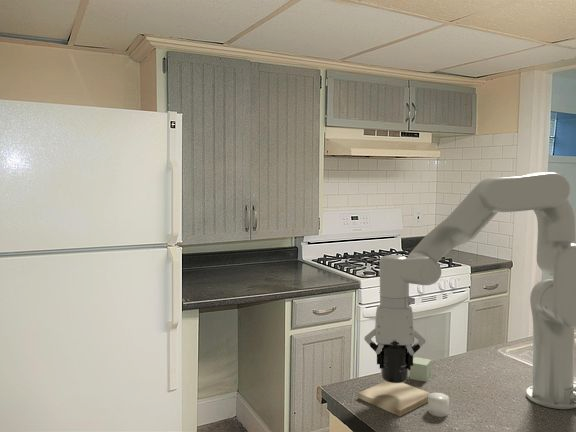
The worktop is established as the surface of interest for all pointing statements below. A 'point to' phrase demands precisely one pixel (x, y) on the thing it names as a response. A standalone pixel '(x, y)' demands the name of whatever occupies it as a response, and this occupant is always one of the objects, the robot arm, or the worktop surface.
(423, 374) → the sage block
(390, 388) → the birch board
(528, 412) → the worktop surface
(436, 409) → the white rounded lump
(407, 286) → the robot arm
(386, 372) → the supplement bottle
